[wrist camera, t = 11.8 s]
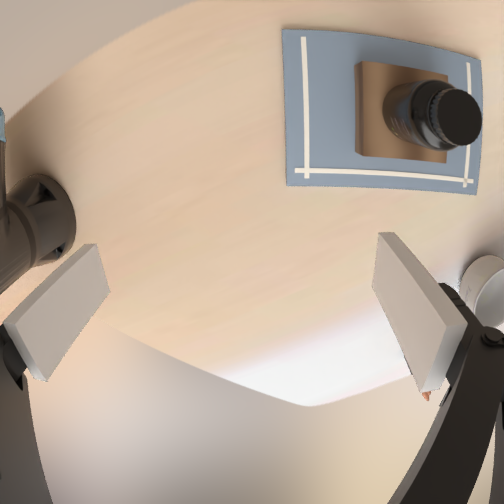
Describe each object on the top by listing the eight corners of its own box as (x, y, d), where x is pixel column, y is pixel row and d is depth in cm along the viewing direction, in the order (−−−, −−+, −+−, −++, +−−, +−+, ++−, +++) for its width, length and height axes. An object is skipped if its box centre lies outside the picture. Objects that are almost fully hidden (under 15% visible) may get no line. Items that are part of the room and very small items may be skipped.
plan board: (286, 184, 39) (286, 186, 38) (281, 31, 31) (281, 29, 30) (472, 193, 37) (476, 195, 36) (477, 61, 28) (481, 60, 27)
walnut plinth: (354, 151, 36) (363, 156, 32) (353, 65, 31) (362, 60, 27) (432, 158, 35) (446, 163, 31) (433, 77, 30) (447, 75, 26)
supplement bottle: (403, 72, 27) (457, 59, 16) (442, 115, 29) (503, 122, 18) (367, 112, 30) (410, 113, 19) (409, 154, 31) (462, 176, 20)
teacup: (443, 275, 43) (465, 302, 35) (490, 233, 39) (517, 254, 32) (468, 322, 46) (487, 350, 39) (510, 286, 42) (532, 310, 35)
